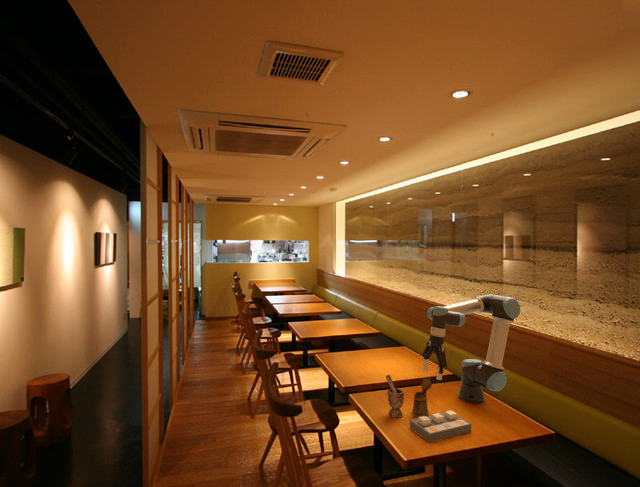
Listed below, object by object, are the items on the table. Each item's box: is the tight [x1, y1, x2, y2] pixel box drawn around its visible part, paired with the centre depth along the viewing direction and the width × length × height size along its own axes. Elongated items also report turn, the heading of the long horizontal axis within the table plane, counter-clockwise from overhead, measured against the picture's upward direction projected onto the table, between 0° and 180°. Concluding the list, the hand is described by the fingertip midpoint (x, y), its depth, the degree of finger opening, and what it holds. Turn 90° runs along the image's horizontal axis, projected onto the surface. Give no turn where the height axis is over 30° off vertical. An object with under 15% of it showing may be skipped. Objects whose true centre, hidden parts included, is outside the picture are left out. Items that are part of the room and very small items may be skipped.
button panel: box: [409, 412, 472, 443], centre depth 189 cm, size 26×15×4 cm, turn 113°
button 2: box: [444, 409, 458, 420], centre depth 194 cm, size 4×4×4 cm
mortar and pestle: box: [385, 374, 405, 419], centre depth 207 cm, size 12×9×20 cm
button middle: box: [431, 412, 444, 423], centre depth 191 cm, size 4×4×4 cm
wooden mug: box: [411, 377, 432, 418], centre depth 208 cm, size 9×14×18 cm, turn 134°
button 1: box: [418, 416, 430, 426], centre depth 188 cm, size 4×4×4 cm
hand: (431, 375), depth 199 cm, fingers open, 13 cm apart
